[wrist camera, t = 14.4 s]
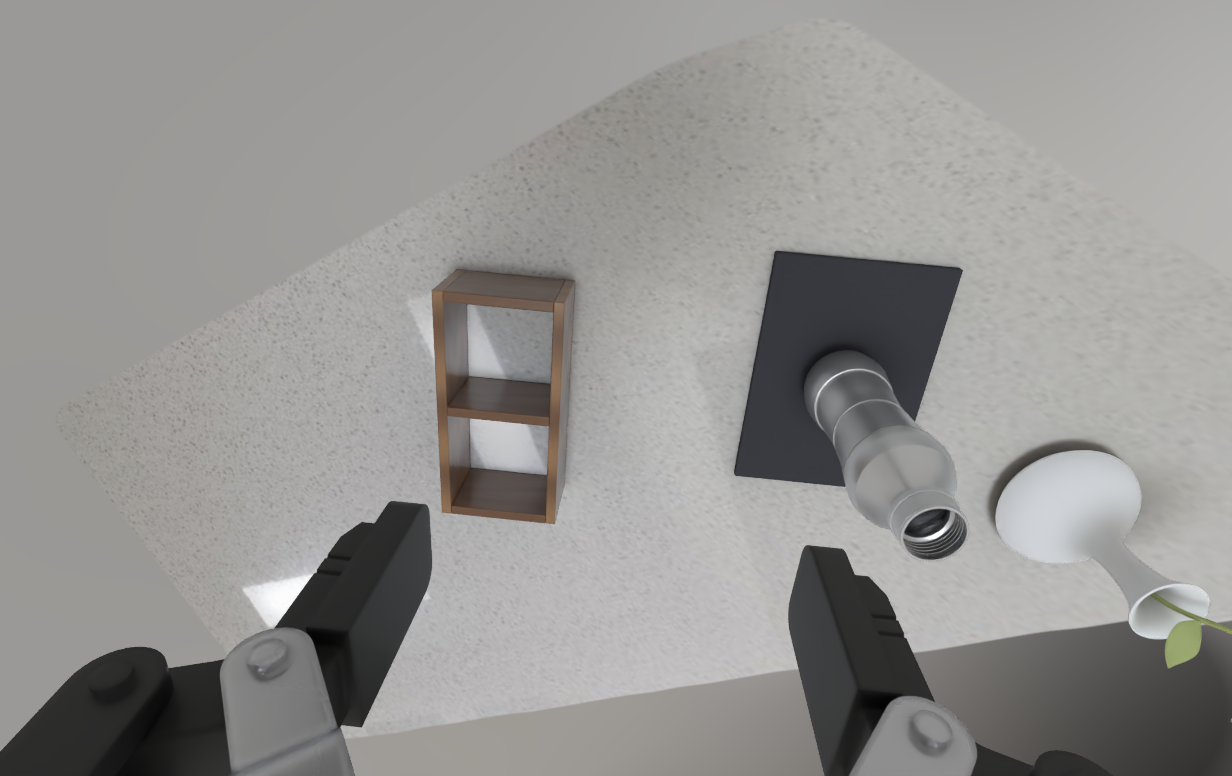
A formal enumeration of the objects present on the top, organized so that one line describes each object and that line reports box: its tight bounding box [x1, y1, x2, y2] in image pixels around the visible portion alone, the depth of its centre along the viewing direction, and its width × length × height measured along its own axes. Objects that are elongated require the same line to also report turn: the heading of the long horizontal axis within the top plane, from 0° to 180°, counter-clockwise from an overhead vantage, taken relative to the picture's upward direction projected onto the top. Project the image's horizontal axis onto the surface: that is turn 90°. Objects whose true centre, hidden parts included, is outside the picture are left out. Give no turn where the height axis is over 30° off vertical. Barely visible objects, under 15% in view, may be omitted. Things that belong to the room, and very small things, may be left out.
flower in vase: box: [995, 450, 1232, 722], centre depth 44 cm, size 13×11×25 cm
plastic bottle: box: [804, 350, 970, 562], centre depth 43 cm, size 6×7×20 cm
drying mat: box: [734, 251, 963, 487], centre depth 52 cm, size 20×14×1 cm
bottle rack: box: [432, 270, 575, 524], centre depth 52 cm, size 19×10×6 cm, turn 176°
